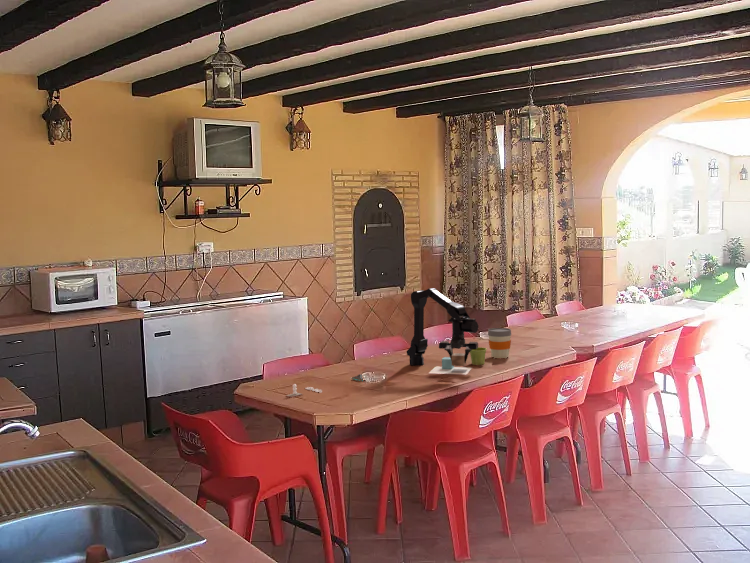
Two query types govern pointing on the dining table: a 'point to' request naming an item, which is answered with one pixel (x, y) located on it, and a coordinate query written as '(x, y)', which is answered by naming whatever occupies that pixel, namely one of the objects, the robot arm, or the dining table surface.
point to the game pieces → (297, 394)
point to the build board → (451, 370)
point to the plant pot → (478, 355)
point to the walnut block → (458, 359)
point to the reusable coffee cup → (499, 342)
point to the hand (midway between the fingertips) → (458, 362)
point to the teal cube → (447, 363)
